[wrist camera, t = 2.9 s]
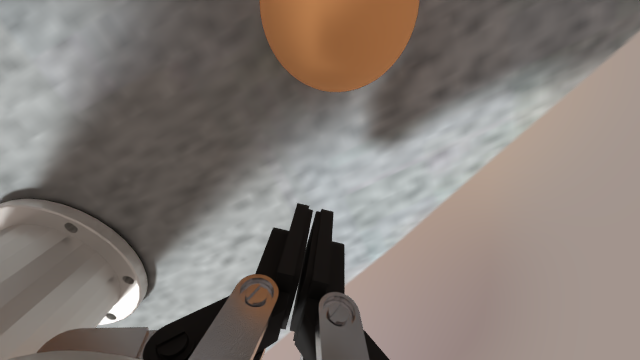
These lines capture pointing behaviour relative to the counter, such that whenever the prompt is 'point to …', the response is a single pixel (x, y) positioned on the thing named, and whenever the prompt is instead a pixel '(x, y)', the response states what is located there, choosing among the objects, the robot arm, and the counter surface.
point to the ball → (338, 38)
